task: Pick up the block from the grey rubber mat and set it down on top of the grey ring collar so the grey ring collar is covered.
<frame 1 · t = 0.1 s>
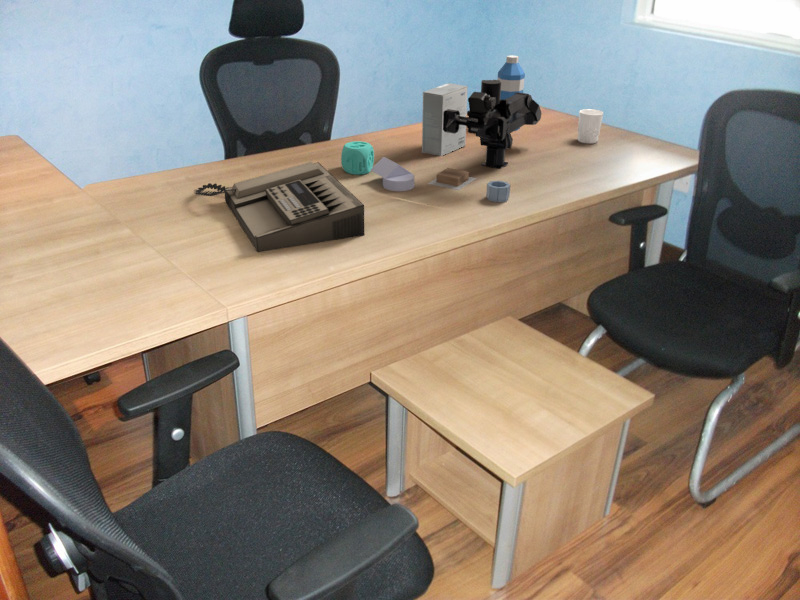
hand: (460, 131, 205), 17 cm above the table, tool horizontal, fingers open, 9 cm apart
fax machine: (272, 215, 195), on the table
block: (452, 180, 218), resting on mat
mat: (452, 182, 218), on the table
wedge on round base: (394, 185, 215), on the table
decorative dice: (358, 171, 226), on the table
grey ring collar: (497, 199, 206), on the table
hard drive box: (443, 150, 246), on the table
white cup: (587, 141, 257), on the table
water bottle: (506, 128, 270), on the table
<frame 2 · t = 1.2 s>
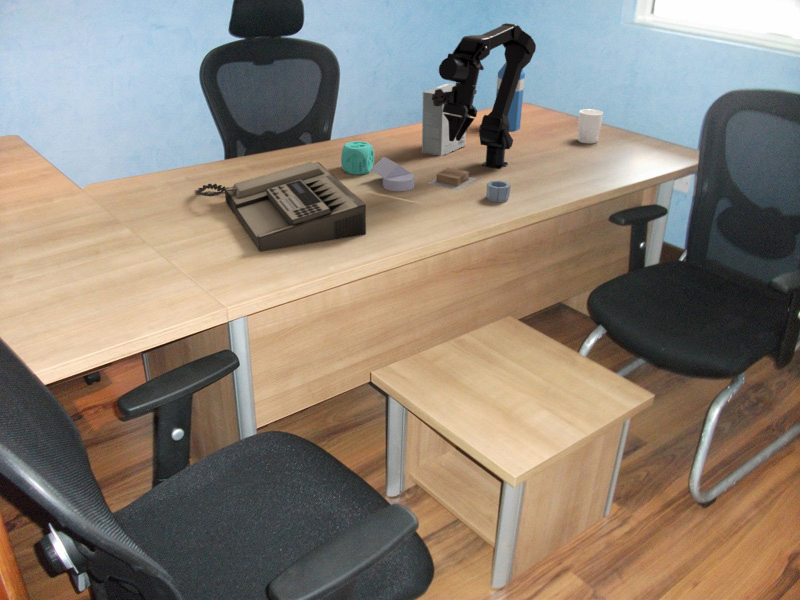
hand: (454, 140, 211), 13 cm above the table, tool tilted 15°, fingers open, 9 cm apart
nothing on the table moved.
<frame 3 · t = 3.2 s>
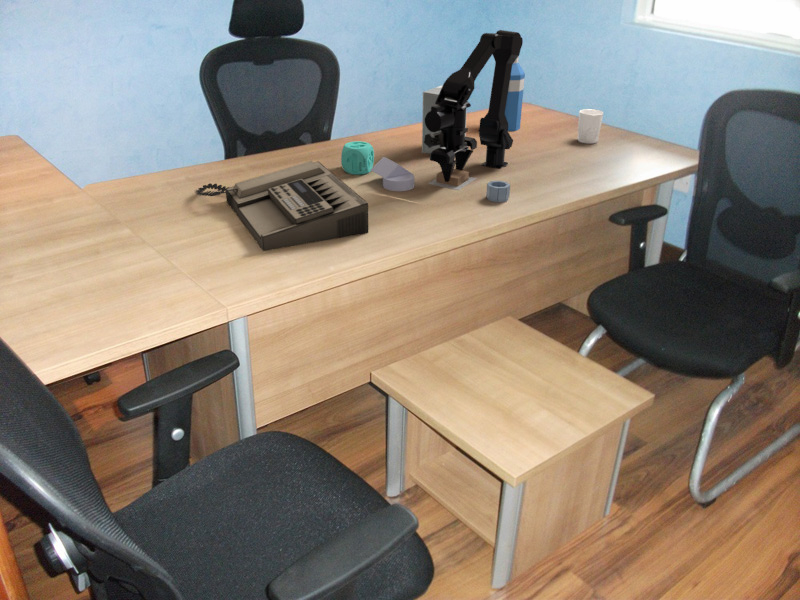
hand: (452, 178, 217), 1 cm above the table, tool pointing down, fingers closed on block, 7 cm apart
block: (452, 180, 218), resting on mat, touching gripper
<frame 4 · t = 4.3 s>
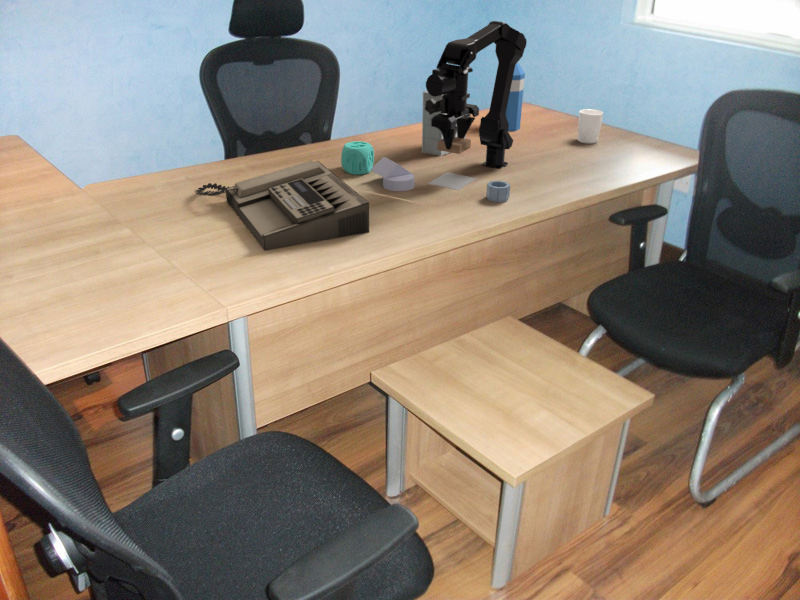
hand: (454, 145, 213), 11 cm above the table, tool pointing down, fingers closed on block, 7 cm apart
block: (453, 148, 213), point 10 cm above the table, touching gripper
when the fingers open (6 cm above the table, at t = 6.7 s): block drops 1 cm, resting on grey ring collar.
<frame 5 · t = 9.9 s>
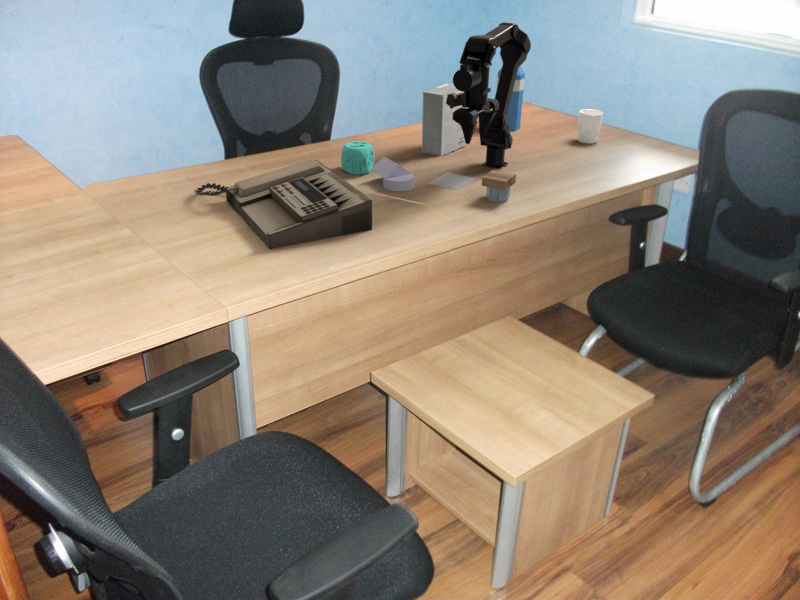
hand: (474, 139, 214), 12 cm above the table, tool pointing down, fingers open, 9 cm apart
block: (498, 184, 204), point 4 cm above the table, touching grey ring collar
grey ring collar: (497, 199, 206), on the table, touching block
at the end: block 0.1 cm off-centre on the grey ring collar, point 4.5 cm above the grey ring collar's base; block tilted 0°; the gripper is holding nothing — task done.
